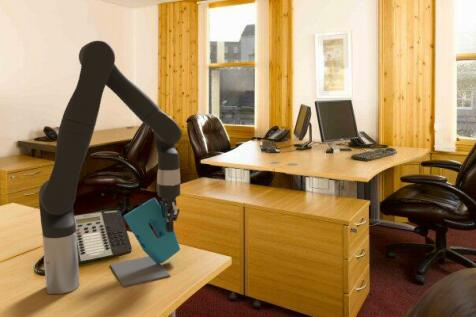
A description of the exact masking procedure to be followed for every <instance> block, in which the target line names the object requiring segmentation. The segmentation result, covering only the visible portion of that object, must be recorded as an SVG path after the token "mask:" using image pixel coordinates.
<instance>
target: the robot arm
mask: <svg viewBox="0 0 476 317" xmlns="http://www.w3.org/2000/svg"><path fill="white" fill-rule="evenodd" d="M115 54H116V53H115V51H114V49H113V47H112V46H111V45H110V43H108V42H105V41H103V40H93V41H90V42H87V43H86V44H84V45H83V46H82V47H81V48H80V50H79V53H78V61H79V64H80V72H79V76H78V81H77V84H76V87H75V88H74V91H73V93H72V94H71V97H70V98H69V100H68V102H67V104H66V106H65V110H64V111H63V114H62V118H61V122H60V124H59V128H58V132H57V137H56V138H57V139H56V146H55V158H54V164H53V167H52V171H51V172H50V173H51V174H50V176H49V179H48V180H46V181H45V182H44V183H43V184H42V185H41V186H40V187H39V190H38V203H39V205H38V206H39V214H40V215H39V216H40V225H41V233H42V245H43V264H44V276H45V287H46V288H45V289H46V292H47V295H51V294H54V295H60V294H67V293H70V292H72V291H75V290H77V288H79V286H80V270H79V269H80V268H79V254H78V243H77V242H78V240H77V225H76V224H77V223H76V220H75V213H74V204H75V201H76V196H77V190H78V184H79V179H80V174H81V171H82V170H81V169H82V166H83V164H84V162H85V158H86V156H87V154H88V151H89V147H90V144H91V142H92V137H93V134H94V131H95V127H96V124H97V121H98V116H99V113H100V112H99V111H100V107H101V102H102V98H103V92H104V91H105V87H107V88H109V90H111V91H112V92H113V93H114V94H115V95H116V96H117V97H118V98H119V100H121V101H122V102H123V103H124V104H125V105H126V107H127V108H128V109H129V110H130V111H131V113H133V114H134V115H135V116H136V117H137V118H138V119H139V120H140V121H141V122H142V123H143V124H144V125H145V126H148V127H150V128H151V129H152V130H153V132H154V141H155V148H156V153H157V174H156V176H157V196H158V197H159V198H161V200H162V201H159V205H160V207H161V210H162V214H163V217H165V221H166V231H167V232H168V233H169V232H173V231H175V228H174V222H176V221H177V219H178V217H179V214H180V211H181V210H180V209H179V208H177V205H178V204H177V203H178V202H177V197H179V196H180V195H181V172H180V171H181V170H180V155H179V152H178V151H177V150H176V144H177V143H178V142H179V141H180V140H181V138H182V129H181V127H180V125H178V123H177V122H176V121H175V120H173V119H172V118H171V117H170V116H169V115H168V114H167V113H165V112H164V111H163V110H162V109H161V108H160V107H159V106H158V104H156V103H155V101H154V100H153V99H152V98H151V97H150V96H149V95H148V94H147V93H146V92H145V91H144V90H142V89H141V88H140V87H139V86H137V84H135V83H134V82H132V81H131V80H130V79H129V78H128V77H127V76H126V75H125V74H124V73H123V72H122V71H121V70H120V68H119V67H118V66H117V65H116V63H115V61H116V56H115Z"/></svg>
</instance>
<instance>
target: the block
mask: <svg viewBox="0 0 476 317" xmlns="http://www.w3.org/2000/svg"><path fill="white" fill-rule="evenodd" d="M123 218H124V221H125V222H126V223H127V226H128V228H129V229H130V231H131V232H132V233H133V236H134V237H135V239H136V240H137V242H138V244H139V246H140V247H141V249H142V250H143V251H144V253H146V255H147V257H148V256H149V257H150V258H151V259H152V260H153V261H154V262H155V263H157V264H161V265H162V264H163V263H165V262H166V261H168V260H169V259H170V258H172V257H173V256H174V255H176V254H177V253H178V252H179V251H180V250H181V246H180V244H179V241H178V238H177V235H176V231H175V230H174V231H173V232H169V233H168V232H167V231H166V221H165V217H163V214H162V210H161V206H160V202H159V201H158V200H157V199H156V197H153V198H150V199H149V200H147V201H146V202H144V203H143V204H140V205H139V206H138V207H135V208H134V209H132V210H131V211H129V212H127V213H126V214H124V215H123ZM150 225H151V226H150ZM151 227H152V228H151ZM154 232H155V233H156V234H155V233H154Z"/></svg>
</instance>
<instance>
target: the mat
mask: <svg viewBox="0 0 476 317" xmlns="http://www.w3.org/2000/svg"><path fill="white" fill-rule="evenodd" d="M109 267H110V268H111V269H112V271H113V272H114V274H115V275H116V277H117V279H118V280H119V282H120V284H121V286H122V287H123V288H126V287H130V286H135V285H139V284H143V283H144V284H145V283H148V282H152V281H156V280H161V279H166V278H170V277H171V274H170V273H169V271H168V270H167V269H166V268H165V267H164V266H163V265H162V263H161V264H157V263H155V262H154V261H153V260H152V259H151V258H150V257H149V256H148V255H147V256H143V257H139V258H138V257H137V258H134V259H133V258H132V259H128V260H123V261H118V262H114V263H113V262H112V263H109Z"/></svg>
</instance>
